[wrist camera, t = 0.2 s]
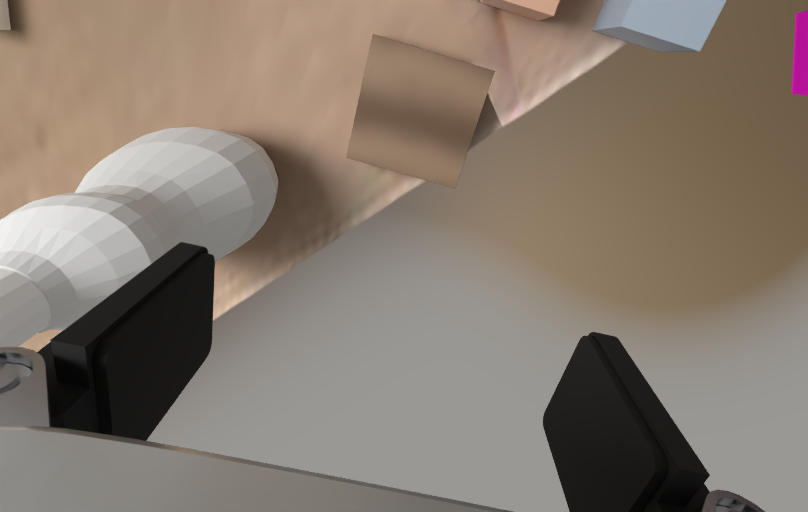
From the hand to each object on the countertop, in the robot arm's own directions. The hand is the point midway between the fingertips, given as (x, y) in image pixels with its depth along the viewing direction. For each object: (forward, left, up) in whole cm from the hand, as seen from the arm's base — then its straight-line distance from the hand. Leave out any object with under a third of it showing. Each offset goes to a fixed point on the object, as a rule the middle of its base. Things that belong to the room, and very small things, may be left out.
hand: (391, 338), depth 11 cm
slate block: (-15, +14, -32) cm, 38 cm away
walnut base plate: (-2, -1, -32) cm, 32 cm away
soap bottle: (+10, -18, -32) cm, 38 cm away
